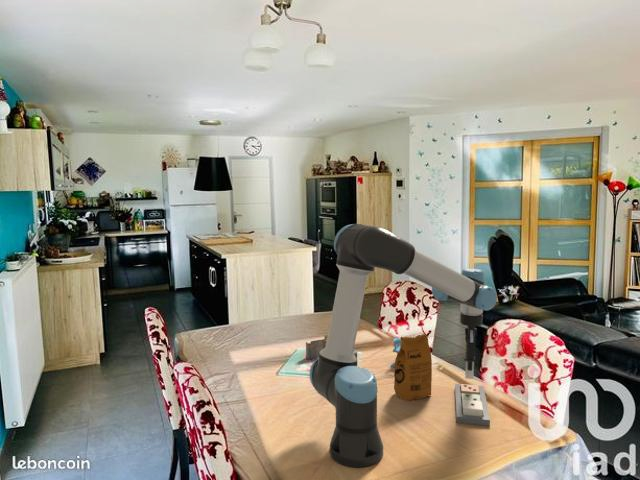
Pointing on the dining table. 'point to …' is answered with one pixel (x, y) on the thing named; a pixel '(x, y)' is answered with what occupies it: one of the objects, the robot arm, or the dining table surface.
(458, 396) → the tile tray
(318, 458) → the dining table surface
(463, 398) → the tile two
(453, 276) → the robot arm
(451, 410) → the dining table surface
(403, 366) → the coffee package
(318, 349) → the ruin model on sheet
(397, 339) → the chair
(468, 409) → the tile one
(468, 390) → the tile three
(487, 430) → the dining table surface
